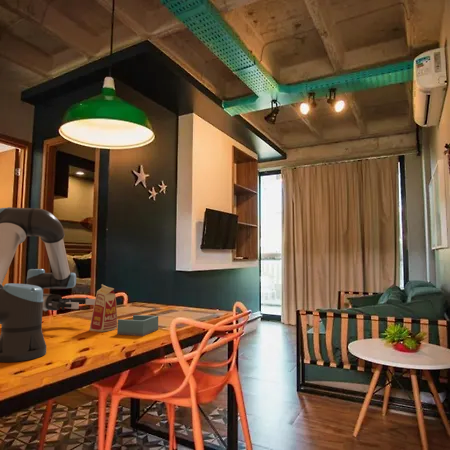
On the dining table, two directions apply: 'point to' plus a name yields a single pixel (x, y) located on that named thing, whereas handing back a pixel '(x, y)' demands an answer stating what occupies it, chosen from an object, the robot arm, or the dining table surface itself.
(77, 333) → the dining table surface
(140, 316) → the box
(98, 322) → the milk carton
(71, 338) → the dining table surface
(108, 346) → the dining table surface
